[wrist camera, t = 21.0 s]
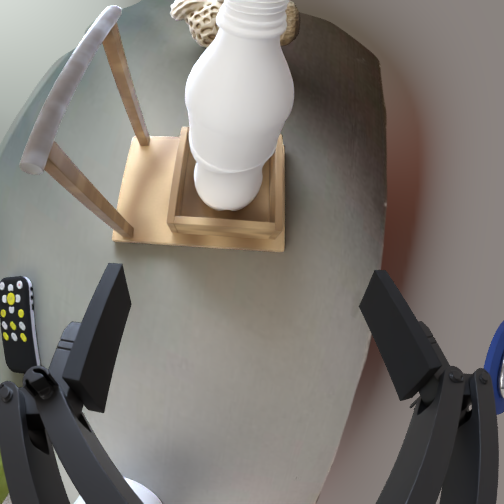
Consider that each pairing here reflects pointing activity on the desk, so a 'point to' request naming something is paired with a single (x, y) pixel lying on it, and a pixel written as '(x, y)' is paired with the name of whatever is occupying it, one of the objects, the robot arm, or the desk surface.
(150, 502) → the cup
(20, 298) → the remote control
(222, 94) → the water bottle
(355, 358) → the desk surface
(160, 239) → the rack
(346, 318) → the desk surface
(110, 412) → the desk surface
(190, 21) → the teapot
